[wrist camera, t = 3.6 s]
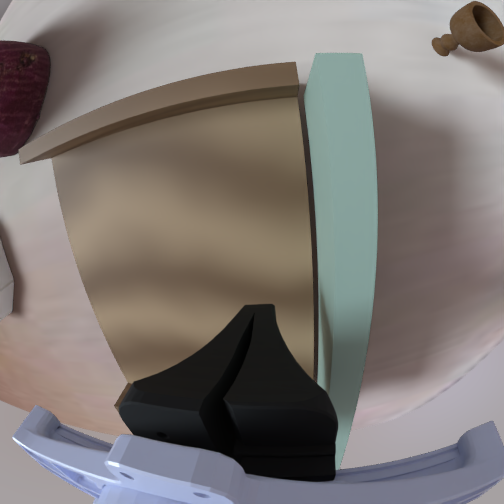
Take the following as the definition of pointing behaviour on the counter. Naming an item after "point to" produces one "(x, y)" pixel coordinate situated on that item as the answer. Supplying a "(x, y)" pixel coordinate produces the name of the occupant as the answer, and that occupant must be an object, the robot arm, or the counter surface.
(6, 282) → the fruit dish
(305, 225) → the tan lipped tray
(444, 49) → the place setting
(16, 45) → the vegetable
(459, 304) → the counter surface
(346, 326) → the panel
